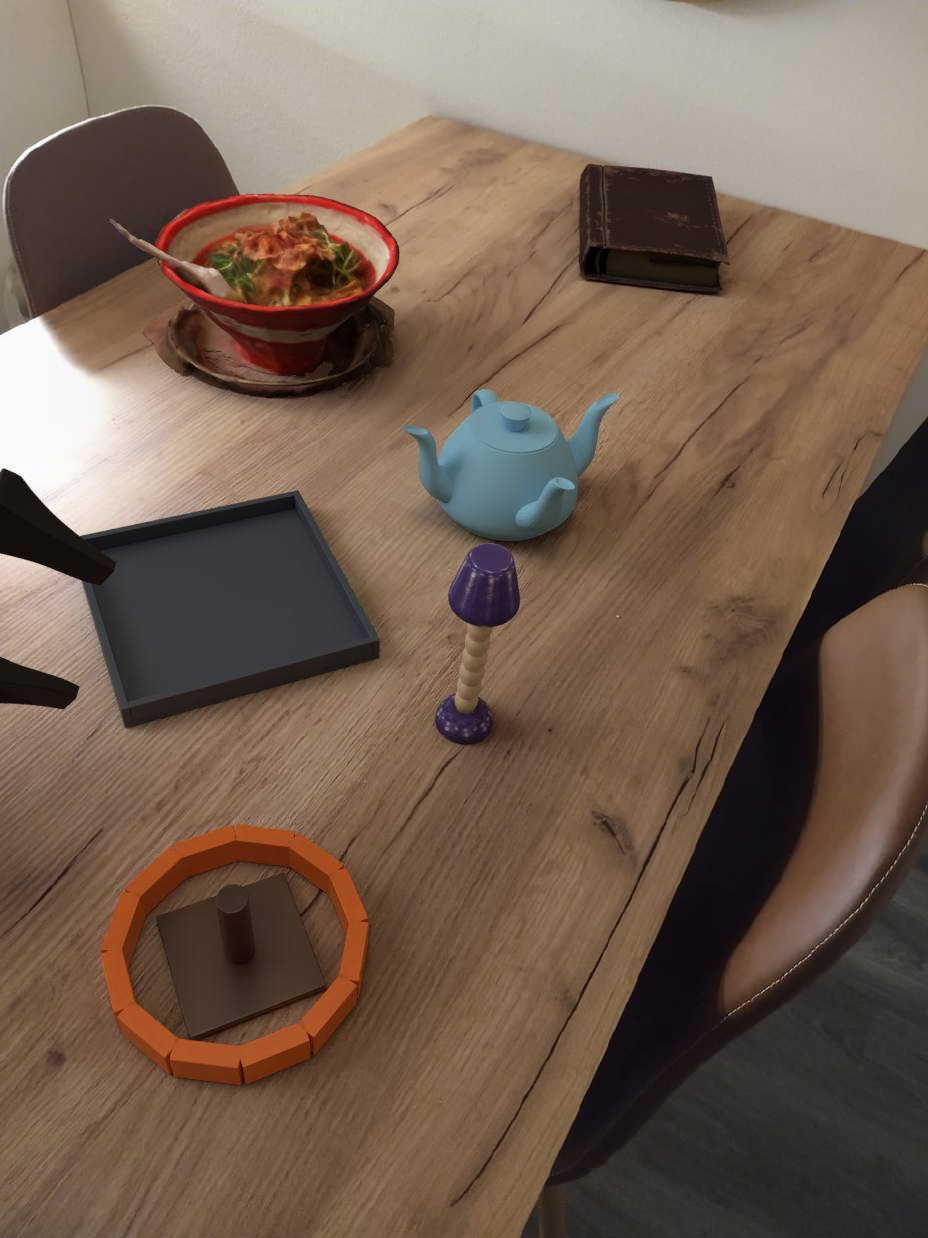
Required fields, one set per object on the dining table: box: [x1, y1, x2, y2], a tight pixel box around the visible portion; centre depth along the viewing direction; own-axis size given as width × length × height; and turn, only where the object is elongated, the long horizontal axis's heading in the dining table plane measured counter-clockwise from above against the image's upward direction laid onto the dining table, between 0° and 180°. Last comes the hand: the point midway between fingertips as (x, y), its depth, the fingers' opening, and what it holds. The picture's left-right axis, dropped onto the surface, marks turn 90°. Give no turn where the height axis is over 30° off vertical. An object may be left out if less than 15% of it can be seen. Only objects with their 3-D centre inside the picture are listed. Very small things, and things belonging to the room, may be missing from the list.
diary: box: [578, 163, 731, 293], centre depth 132 cm, size 19×25×5 cm
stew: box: [107, 193, 401, 399], centre depth 102 cm, size 28×24×16 cm
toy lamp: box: [434, 542, 521, 745], centre depth 69 cm, size 5×5×17 cm
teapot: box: [402, 388, 620, 542], centre depth 90 cm, size 15×15×10 cm
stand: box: [155, 872, 327, 1041], centre depth 59 cm, size 8×8×7 cm
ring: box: [99, 823, 370, 1086], centre depth 60 cm, size 15×15×2 cm
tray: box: [79, 489, 381, 729], centre depth 80 cm, size 19×19×2 cm
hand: (90, 633), depth 55 cm, fingers open, 7 cm apart
